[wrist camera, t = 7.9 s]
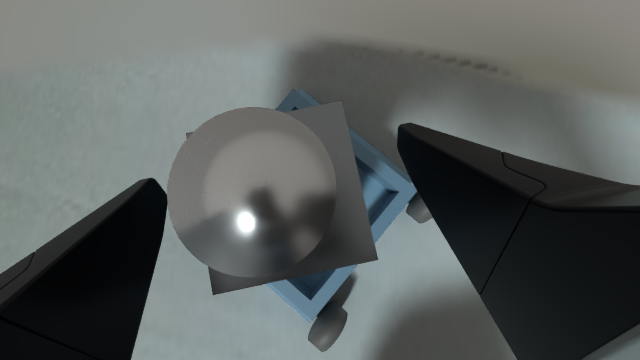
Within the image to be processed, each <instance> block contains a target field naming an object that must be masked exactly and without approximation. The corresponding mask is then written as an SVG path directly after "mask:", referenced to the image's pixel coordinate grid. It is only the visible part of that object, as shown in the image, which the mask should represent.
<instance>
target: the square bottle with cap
mask: <svg viewBox="0 0 640 360" xmlns="http://www.w3.org/2000/svg"><path fill="white" fill-rule="evenodd" d="M186 136H187V140H186V141H185V142H184V144H183V145H182V147H181V148H180V150H179V152H178V153H177V155H176V158H175V160H174V162H173V164H172V168H171V171H170V174H169V180H168V186H167V201H168V209H169V214H170V218H171V221H172V224H173V227H174V229H175V231H176V233H177V235H178V237H179V239H180V240H181V241H182V243H183V244H184V245H185V247H186V248H187V249H188V250H189V251H190V252H191V253H192V254H193V255H194V256H195V257H196V258H197V259H198V260H200V261H201V262H202V263H204V264H205V265H207V266H208V268H209V274H210V280H211V287H212V293H213V295H215V294H220V293H225V292H229V291H234V290H239V289H244V288H248V287H253V286H258V285H262V284H267V283H272V282H276V281H281V280H286V279H290V278H295V277H300V276H305V275H309V274H314V273H319V272H323V271H328V270H333V269H337V268H342V267H347V266H351V265H356V264H361V263H366V262H370V261H375V260H378V257H377V253H376V249H375V244H374V240H373V235H372V231H371V227H370V222H369V218H368V213H367V209H366V205H365V200H364V196H363V191H362V187H361V182H360V178H359V174H358V169H357V165H356V160H355V156H354V152H353V147H352V143H351V138H350V134H349V130H348V125H347V121H346V116H345V112H344V107H343V103H342V100H341V101H337V102H332V103H327V104H322V105H318V106H313V107H308V108H303V109H299V110H294V111H289V112H284V113H283V112H280V111H277V110H273V109H269V108H260V107H247V108H240V109H235V110H231V111H227V112H225V113H222V114H220V115H217V116H215V117H213V118H212V119H210V120H208V121H207V122H205V123H204V124H203V125H201V126H200V127H199V128H197V129H196V130H195V131H194V132H190V133H186Z"/></svg>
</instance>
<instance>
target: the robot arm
mask: <svg viewBox="0 0 640 360" xmlns="http://www.w3.org/2000/svg"><path fill="white" fill-rule="evenodd" d="M397 147H398V151H399V153H400V156H401V158H402V160H403V163H404V165H405V167H406V170H407V172H408V174H409V177H410V179H411V181H412V183H413V185H414V187H415V188H416V190H417V192H418V193H419V195H420V197H421V198H422V200H423V202H424V203H425V205H426V207H427V208H428V210H429V212H430V213H431V215H432V217H433V218H434V220H435V222H436V223H437V225H438V227H439V228H440V230H441V232H442V234H443V235H444V237H445V239H446V240H447V242H448V244H449V245H450V247H451V249H452V250H453V252H454V254H455V255H456V257H457V259H458V260H459V262H460V264H461V265H462V267H463V269H464V270H465V272H466V274H467V275H468V277H469V279H470V280H471V282H472V284H473V286H474V287H475V289H476V291H477V292H478V294H479V295H480V298H481V299H482V301H483V303H484V304H485V306H486V308H487V309H488V311H489V313H490V314H491V316H492V318H493V319H494V321H495V323H496V324H497V326H498V328H499V329H500V331H501V333H502V334H503V336H504V338H505V339H506V341H507V343H508V345H509V346H510V348H511V350H512V351H513V353H514V355H515V356H516V358H517V360H640V185H630V184H623V183H618V182H614V181H610V180H606V179H602V178H598V177H594V176H590V175H586V174H582V173H578V172H574V171H570V170H566V169H562V168H558V167H555V166H551V165H547V164H543V163H540V162H536V161H532V160H529V159H526V158H522V157H519V156H515V155H512V154H509V153H506V152H501V151H499V150H496V149H493V148H490V147H487V146H483V145H480V144H477V143H474V142H471V141H468V140H464V139H461V138H458V137H455V136H452V135H448V134H445V133H442V132H439V131H436V130H432V129H429V128H426V127H423V126H420V125H417V124H413V123H405V124H401V125H399V127H398V139H397ZM167 203H168V201H167V194H166V193H165V191H164V190H163V189H162V187H161V186H160V185H159V183H158V182H157V181H156V180H155V179H154V178H147V179H142V180H139V181H138V182H136V183H135V184H133V185H132V186H130V187H129V188H128V189H126V190H125V191H123V192H122V193H120V194H119V195H117V196H116V197H114V198H113V199H111V200H110V201H108V202H107V203H105V204H104V205H102V206H101V207H99V208H98V209H96V210H95V211H93V212H92V213H90V214H89V215H88V216H86V217H85V218H83V219H82V220H80V221H79V222H77V223H76V224H74V225H73V226H71V227H70V228H68V229H67V230H65V231H64V232H62V233H61V234H59V235H58V236H56V237H55V238H53V239H52V240H50V241H49V242H48V243H46V244H45V245H43V246H42V247H40V248H39V249H37V250H36V252H33V253H31V254H30V255H28V256H27V257H25V258H24V259H22V260H21V261H19V262H18V263H16V264H15V265H13V266H12V267H10V268H9V269H7V270H6V271H4V272H3V273H1V274H0V360H131V357H132V353H133V349H134V346H135V342H136V338H137V334H138V330H139V326H140V323H141V319H142V315H143V311H144V307H145V303H146V299H147V296H148V292H149V288H150V284H151V280H152V276H153V273H154V269H155V265H156V261H157V257H158V253H159V250H160V246H161V242H162V237H163V232H164V225H165V218H166V211H167Z"/></svg>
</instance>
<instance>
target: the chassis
mask: <svg viewBox="0 0 640 360" xmlns="http://www.w3.org/2000/svg"><path fill="white" fill-rule="evenodd" d="M318 105H321V104H320V103H319V102H317V101H316V100H315V99H314V98H312V97H311V96H310V95H309V94H307V93H306V92H305V91H304V90H302V89H301V88H300V89H299V90H298V91H297V92H296V91H295V90H294V89H293V90H292V91H291V92H290V94H289V95H288V96H287V97H286V98H285V99H284V100H283V102H282V103H281V104H280V105H279V106H278V107H277V109H276V110H277V111H280V112H283V113H284V112H289V111H294V110H299V109H303V108H308V107H313V106H318ZM348 130H349V134H350V138H351V143H352V147H353V152H354V156H355V160H356V165H357V169H358V174H359V178H360V182H361V187H362V191H363V196H364V200H365V205H366V209H367V213H368V218H369V222H370V227H371V231H372V235H373V240H374V244H375V243H376V241H377V240H378V239H379V238H380V236H381V235H382V234H383V233H384V231H385V230H386V229H387V228H388V226H389V225H390V224H391V223H392V221H393V220H394V219H395V218H396V217H397V215H398V214H399V213H400V212H401V210H402V209H403V208H404V207H405V205H406V204H407V203H408V202H409V200H410V199H411V198H412V197H413V196H414V194H415V193H416V192H417V190H416V188H415V187H414V185H413V183H412V181H411V179H410V177H409V175H408V174H407V173H405V172H404V171H403V170H402V169H400V168H399V167H398V166H397V165H395V164H394V163H393V162H392V161H391V160H389V159H388V158H387V157H386V156H384V155H383V154H382V153H381V152H379V151H378V150H377V149H376V148H374V147H373V146H372V145H371V144H369V143H368V142H367V141H366V140H364V139H363V138H362V137H361V136H360V135H358V134H357V133H356V132H355V131H353V130H352V129H351V128H350V127H348ZM406 213H407V214H408V215H410V216H411V217H412V218H413V219H415V220H416V221H417V222H418V223H424V222H426V221H428V220H429V219H431V218H432V215H431V213H430V212H429V210H428V208H427V207H426V205H425V203H424V202H423V200H422V198H421V197H420V195H419V193H417V194H416V195H415V197H414V198H413V199H412V200H411V202H410V203H409V205H408V207H407V209H406ZM357 265H358V264H356V265H351V266H347V267H342V268H337V269H333V270H328V271H323V272H319V273H314V274H309V275H305V276H300V277H295V278H290V279H286V280H281V281H276V282H272V283H267V284H266V285H268V286H269V287H270V288H271V289H272V290H273V291H274V292H275V293H277V294H278V295H279V296H280V297H281V298H282V299H283V300H284V301H286V302H287V303H288V304H289V305H290V306H291V307H292V308H293V309H295V310H296V311H297V312H298V313H299V314H300V315H301V316H302V317H304V318H305V319H306V320H307V321H308V322H309V323H310V322H311V320H313V319H314V318H315V317H316V315H317V314H318V313H319V312H320V311H321V309H322V308H323V307H324V306H325V304H326V303H327V302H328V301H329V299H330V298H331V297H332V296H333V294H334V293H335V292H336V291H337V289H338V288H339V287H340V286H341V285H342V283H343V282H344V281H345V280H346V278H347V277H348V276H349V275H350V273H351V272H352V271H353V270H354V268H355V267H356V266H357ZM346 321H347V312H346V311H345V310H344V309H343V308H342V307H341V306H339V305H338V304H337V303H336V302H335V301H332V302H331V303H329V304H328V305H327V306H326V307H325V308H324V309H323V310H322V312H321V313H320V314H319V316H318V317H317V319H316V320H315V322H314V324H313V325H312V327H311V329H310V332H309V335H308V340H309V341H310V342H311V343H312V344H313V345H314V346H315V347H317V348H318V349H319V350H320V351H321V352H324V351H326V350H327V349H329V348H330V347H331V346H332V345H333V344H334V342H335V341H336V340H337V338H338V337H339V335H340V334H341V332H342V330H343V328H344V326H345V323H346Z"/></svg>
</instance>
